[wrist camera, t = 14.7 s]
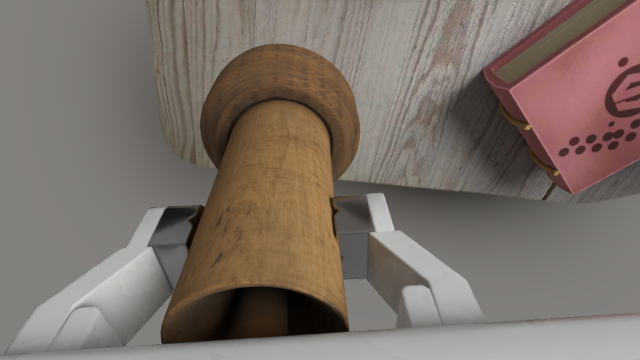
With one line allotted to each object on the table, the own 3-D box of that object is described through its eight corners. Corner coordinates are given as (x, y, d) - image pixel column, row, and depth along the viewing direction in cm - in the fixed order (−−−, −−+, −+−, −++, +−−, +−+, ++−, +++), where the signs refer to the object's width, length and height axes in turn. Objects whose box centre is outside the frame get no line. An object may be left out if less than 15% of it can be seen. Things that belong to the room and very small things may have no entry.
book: (473, 76, 31) (498, 97, 27) (660, -64, 26) (726, -63, 22) (536, 171, 38) (564, 200, 34) (697, 76, 32) (753, 97, 28)
